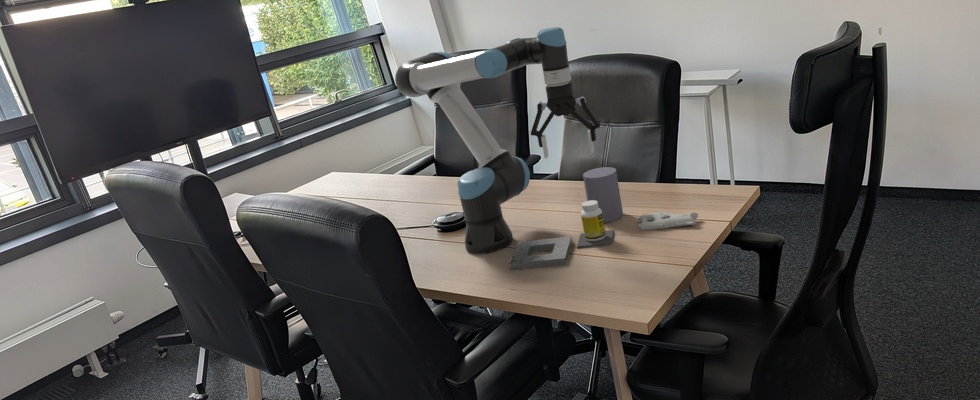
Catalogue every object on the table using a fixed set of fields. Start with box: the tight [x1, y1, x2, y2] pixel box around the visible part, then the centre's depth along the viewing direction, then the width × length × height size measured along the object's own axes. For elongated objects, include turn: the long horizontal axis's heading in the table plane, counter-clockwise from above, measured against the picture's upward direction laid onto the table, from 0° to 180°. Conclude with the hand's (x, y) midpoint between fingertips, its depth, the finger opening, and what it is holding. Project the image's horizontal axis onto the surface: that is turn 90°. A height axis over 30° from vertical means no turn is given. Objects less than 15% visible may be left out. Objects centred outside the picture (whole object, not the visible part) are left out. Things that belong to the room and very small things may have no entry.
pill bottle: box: [580, 200, 606, 242], centre depth 218 cm, size 6×6×11 cm
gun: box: [636, 211, 699, 231], centre depth 220 cm, size 18×3×10 cm
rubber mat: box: [576, 229, 615, 249], centre depth 219 cm, size 10×10×1 cm
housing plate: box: [508, 235, 573, 271], centre depth 216 cm, size 16×16×2 cm
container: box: [582, 166, 624, 224], centre depth 233 cm, size 10×10×15 cm
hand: (569, 154), depth 219 cm, fingers open, 13 cm apart
